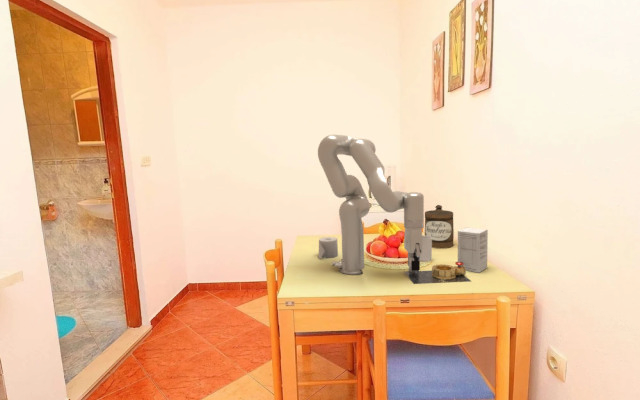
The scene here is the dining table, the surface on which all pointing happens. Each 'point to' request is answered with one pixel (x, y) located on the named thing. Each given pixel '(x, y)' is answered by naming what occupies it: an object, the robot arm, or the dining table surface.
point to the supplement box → (473, 249)
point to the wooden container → (439, 227)
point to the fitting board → (431, 279)
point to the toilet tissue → (328, 247)
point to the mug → (426, 249)
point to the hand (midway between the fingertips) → (413, 267)
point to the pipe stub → (411, 273)
